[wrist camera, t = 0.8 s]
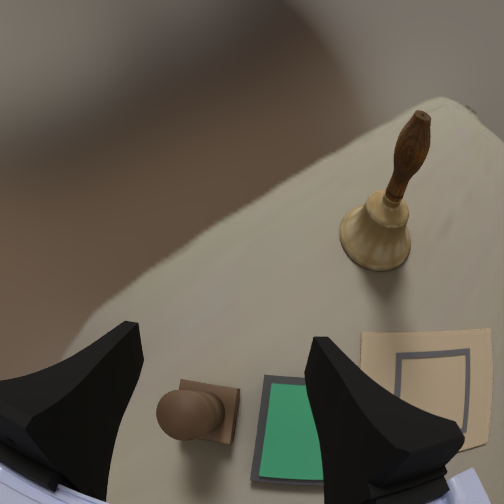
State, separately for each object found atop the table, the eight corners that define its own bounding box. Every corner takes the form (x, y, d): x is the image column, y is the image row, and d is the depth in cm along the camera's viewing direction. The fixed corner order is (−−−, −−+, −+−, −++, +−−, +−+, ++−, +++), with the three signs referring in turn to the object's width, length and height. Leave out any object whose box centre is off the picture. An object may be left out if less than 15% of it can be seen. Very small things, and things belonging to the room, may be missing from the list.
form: (486, 442, 16) (487, 442, 16) (348, 466, 19) (349, 467, 18) (489, 328, 22) (490, 327, 22) (361, 332, 25) (362, 331, 24)
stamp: (234, 440, 21) (213, 457, 15) (181, 429, 22) (143, 438, 15) (241, 388, 24) (222, 386, 17) (188, 380, 24) (153, 373, 18)
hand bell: (336, 204, 32) (355, 80, 18) (402, 207, 31) (447, 96, 17) (341, 271, 28) (382, 150, 14) (415, 271, 27) (492, 167, 13)
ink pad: (330, 481, 18) (332, 486, 17) (251, 476, 19) (249, 481, 18) (343, 379, 23) (346, 378, 21) (265, 375, 24) (264, 374, 23)
